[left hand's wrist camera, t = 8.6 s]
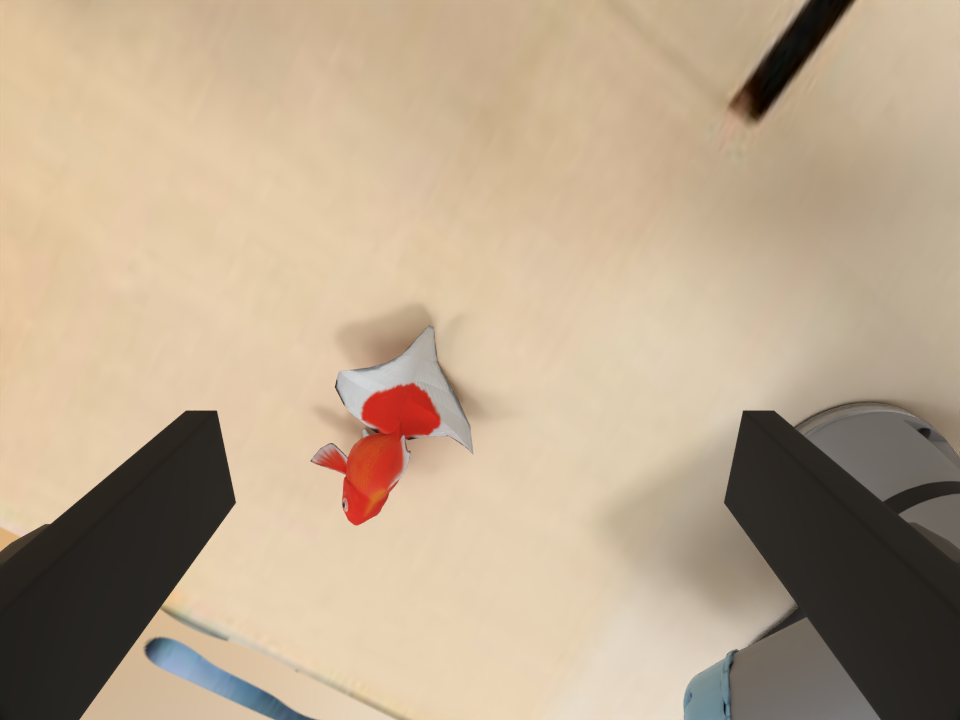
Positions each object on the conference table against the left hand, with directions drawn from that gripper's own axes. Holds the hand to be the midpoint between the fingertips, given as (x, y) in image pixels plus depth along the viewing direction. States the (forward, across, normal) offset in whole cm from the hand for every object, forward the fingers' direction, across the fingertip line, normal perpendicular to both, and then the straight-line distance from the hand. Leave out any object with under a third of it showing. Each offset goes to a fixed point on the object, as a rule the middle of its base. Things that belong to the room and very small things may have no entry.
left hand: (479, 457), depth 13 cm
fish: (+27, +7, +11) cm, 30 cm away
